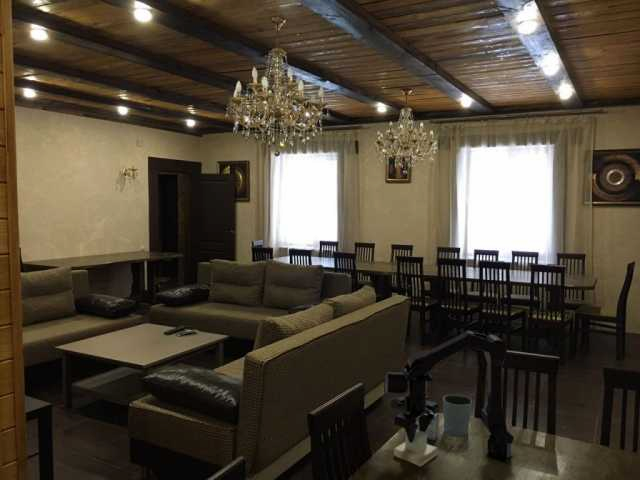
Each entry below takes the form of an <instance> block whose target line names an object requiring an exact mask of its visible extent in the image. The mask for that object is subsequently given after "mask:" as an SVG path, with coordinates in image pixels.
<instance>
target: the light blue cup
mask: <svg viewBox="0 0 640 480" xmlns="http://www.w3.org/2000/svg"><path fill="white" fill-rule="evenodd" d="M472 406H473V400H472V399H471V398H470V397H468V396H466V395H462V394H457V393H456V394H455V393H453V394H451V393H450V394H446V395H444V396H443V397H442V407H443V431H444V433H445V434H446V435H448V436H451V437H458V438H462V437H466V436H468V434H469V425H470V421H471V420H470V419H471V413H472Z"/></svg>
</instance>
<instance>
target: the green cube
mask: <svg viewBox="0 0 640 480" xmlns="http://www.w3.org/2000/svg"><path fill="white" fill-rule="evenodd" d="M404 438H405V439H404V440H405V441H404V442H405V448H407V449H409V450H411V451H414V452H416V453H419V452H421V451H423V450H424V449H426V448H427V444H428V439H427V433H425V432H422V431H420V430H417V431H416V434H415V437H414V440H413V443H410V442H409V440H408V437H407V434H406V433H405V437H404Z"/></svg>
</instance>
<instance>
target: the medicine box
mask: <svg viewBox="0 0 640 480" xmlns="http://www.w3.org/2000/svg"><path fill="white" fill-rule="evenodd" d="M430 412H431V414H433V413H432V411H430ZM439 413H440V412H439ZM439 413H437V414H433V415H435V417H434V418H433V419H432V421H431V423H430V424H429V426H428V428H427V430H426V432H425V433H427V440H429V441H435V440H436V439H437V438H438V436H439V421H440V420H439V415H440V414H439ZM416 425H418V428H417V430H419V418H417V419H416Z"/></svg>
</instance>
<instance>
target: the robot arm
mask: <svg viewBox="0 0 640 480" xmlns="http://www.w3.org/2000/svg"><path fill="white" fill-rule="evenodd" d="M470 347H473V348H476V349H479V350H480V351H483V354H484V357H485V359H486V363H487V405H486V407H485V408H481V409H480V410H481V418H480V421H481V422H482V424H483V425H484V427H485V428H486V430H487V431H488V432H489V434H490V435H489V436H488V439H487V444H486V445H487V450H486V451H487V452H486V453H485V454H486V456H487V457H490V458H493V459H495V460H498V461H501V462H503V463H505V462H507V461H508V460H509V459H510V458H511V457H513V455H514V454H513V453H512V443H513V442H514V439H515V436H513V435H512V434H511V432H510V430H509V429H508V428H507V427H508V426H507V422H506V417H505V414H504V411H503V371H502V370H503V364H504V362H505V360H506V357H507V353H508V352H507V351H508V347H507V344H506V343H505V342H504V341H503V340H502V339H501V338H500V337H498V336H497V335H495V334H489V335H486V334H484V333H479V332H478V333H477V332H473V331H472V330H465V331H464V332H462V333H461V334H459V335H457V336H456V337H453V338H451V339H449V340H447V341H444V342H443V343H441V344H439V345H437V346H435V347H434V348H431V349H425V350H420V351H417V352H413V353H411V354H410V355H409V356H408V359H407V362H406V364H405V365H404V366H403V367H402V369H401V372H399V371H397V372H393V371H386V376H385V380H384V385H385V392H386V394H399V395H400V394H405V393H407V391H408V394H407V395H405V396H399V397H393V398H392V399H391V400H390V406H391V409H393V410H394V411H398V410H403V412H400V413H398V414H397V415H395V416H394V417H393V419H392V420H393V422H392V424H393V425H395V426H398V427H400V428H403V429H404V432H405V435H406V434H407V437H408V440H409V442H410V443H413V440H414V437H415V434H416V431H417V428H418V425H416V419H417V418H419V430H420V431H422V432H426V430H427V428H428V426H429V424H430V423H431V421H432V419H433V418H434V417H435V415H433V414H437V413H440V406H439V404H438V403H436V402H434V401H430V396H429V395H427V390H428V389H427V387H428V386H427V385H428V382H433V381H434V378H433V376H432V375H431V374H429V372H431V370H433V369H434V368H435V366H437V364H439V363H440V362H442V361H444V360H446V359H448V358H450V357H452V356H454V355H456V354H457V353H460V352H461V351H464V350H465V349H467V348H470ZM404 412H406V413H404ZM431 412H432V413H433V414H431ZM407 413H408V414H407Z"/></svg>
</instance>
